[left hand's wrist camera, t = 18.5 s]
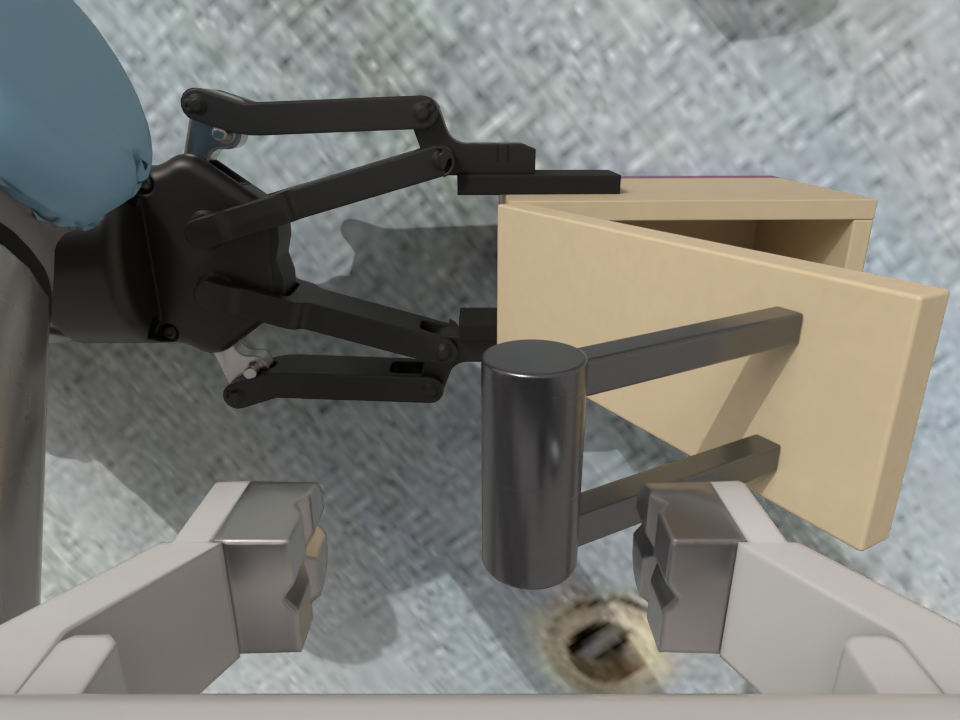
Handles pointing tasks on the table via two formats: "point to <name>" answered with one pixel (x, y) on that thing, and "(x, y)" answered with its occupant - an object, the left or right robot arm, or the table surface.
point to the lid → (690, 382)
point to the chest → (735, 214)
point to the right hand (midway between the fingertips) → (607, 255)
